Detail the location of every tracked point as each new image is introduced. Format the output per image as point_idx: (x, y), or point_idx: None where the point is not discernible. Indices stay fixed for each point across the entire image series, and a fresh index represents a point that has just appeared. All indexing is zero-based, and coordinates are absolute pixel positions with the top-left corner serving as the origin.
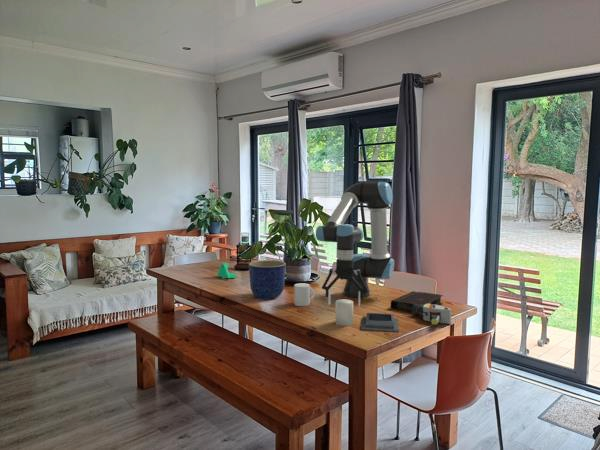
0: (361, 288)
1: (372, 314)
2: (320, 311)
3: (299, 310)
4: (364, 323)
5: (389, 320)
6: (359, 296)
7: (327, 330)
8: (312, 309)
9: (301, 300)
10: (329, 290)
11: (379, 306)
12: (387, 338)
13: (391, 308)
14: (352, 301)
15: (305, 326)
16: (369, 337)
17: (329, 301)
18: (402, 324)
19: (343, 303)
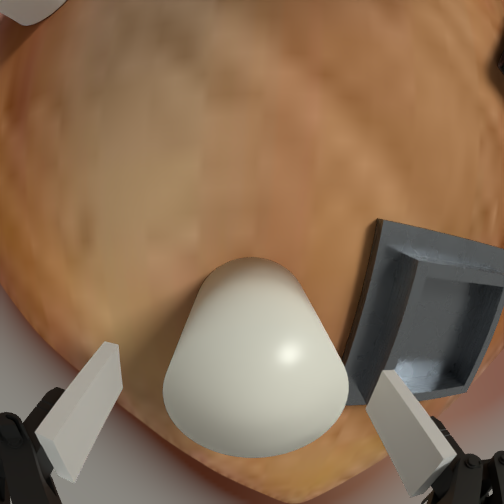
0: (471, 481)
1: (439, 277)
2: (108, 74)
3: (16, 91)
4: (363, 351)
5: (480, 287)
6: (404, 467)
7: (164, 409)
8: (72, 51)
9: (20, 12)
10: (59, 466)
11: (455, 18)
12: None
13: (499, 66)
14: (341, 392)
15: (62, 354)
16: (335, 454)
17: (109, 407)
18: None
19: (242, 447)
